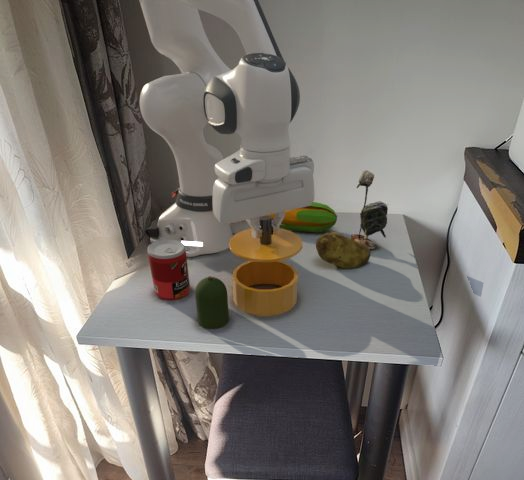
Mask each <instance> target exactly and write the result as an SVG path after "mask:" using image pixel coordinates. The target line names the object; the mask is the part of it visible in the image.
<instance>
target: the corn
mask: <svg viewBox="0 0 524 480" xmlns="http://www.w3.org/2000/svg"><path fill="white" fill-rule="evenodd" d="M266 216H270V217H271V218H272V221H273V219H274V217H275V214H271V215H266ZM337 221H338V215H337V213H336V211H335V210H334V209H333V208H332V207H330V206H329V205H327V204H324V203H321V202H316V201H313V202H312V204H311V205H310V206H306V207H302V208H297V209H293V210H289V211H285V217H284V219H283V221H282V222H281V224H280V225H279V228H282V229H286V230H289V231H291V232H302V233H303V232H305V233H322V232H325V231H328V230H330V229H331V228H332V227H334V226H335V225H336V223H337Z"/></svg>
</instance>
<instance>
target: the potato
mask: <svg viewBox="0 0 524 480" xmlns="http://www.w3.org/2000/svg"><path fill="white" fill-rule="evenodd" d="M349 238H350V237H347V236H345V235H343V234H341V233H339V232H335V231H334V232H333V231H330V232H324V233H322V234H320V235H319V237H318V238H317V239H316V241H315V249H316V252H317V255H318V257H320V259H322V261H324V262H326V263H329V264H331V265H334V266H335V267H338V268H341V269H355V268H359V267H361V266H363V265H365V264H368V261H369V260H370V257H371V249H368V248H367V247H366V246H365V245H363V244H361V243H359V242H356V241H354V240H352V239H349Z"/></svg>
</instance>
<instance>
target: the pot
mask: <svg viewBox="0 0 524 480" xmlns="http://www.w3.org/2000/svg"><path fill="white" fill-rule="evenodd" d="M231 282H232V297H233V298H232V299H233V300H232V301H233V302H234V305H235V306H236V308H238V309H239V310H241V311H242V312H244V313H246V314H249V315H253V316H255V317H273V316H277V315H278V316H279V315H282V314H284V313H285V314H286V312H288V311H291V310H292V309H293V308H294V307H295V305H296V304H297V303H298V287H299V286H298V285H299V284H298V283H299V272H298V270H297V268H295V267H294V265H292V264H290V263H288V262H286V261H285V260H282V261H276V262H254V261H249V260H246V261H245V262H243V263H241V264H239V265H237V267H235V268H234V269H233V271H232V276H231ZM261 284H264V285H275V286H279V287H278V288H277V287H275V288H271V289H265V288H264V289H261V288H259V289H258V288H254V287H251V286H256V285H261Z"/></svg>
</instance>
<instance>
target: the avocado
mask: <svg viewBox="0 0 524 480" xmlns="http://www.w3.org/2000/svg"><path fill="white" fill-rule="evenodd" d="M194 296H195V306H196V313H197V322H198V326H199V327H201V328H202V329H206V330H219V329H221V328H224V327H226V326H227V325H228V323H229V321H230V317H229V315H230V314H229V298H228V289H227V286H226V284H225V283H224V282H223V281H222V280H221V279H219V278H218V277H215V276H210V275H209V276H207V277H205V278H202V279H201V280H199V282H198V283H197V285H196V286H195V290H194Z"/></svg>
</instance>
